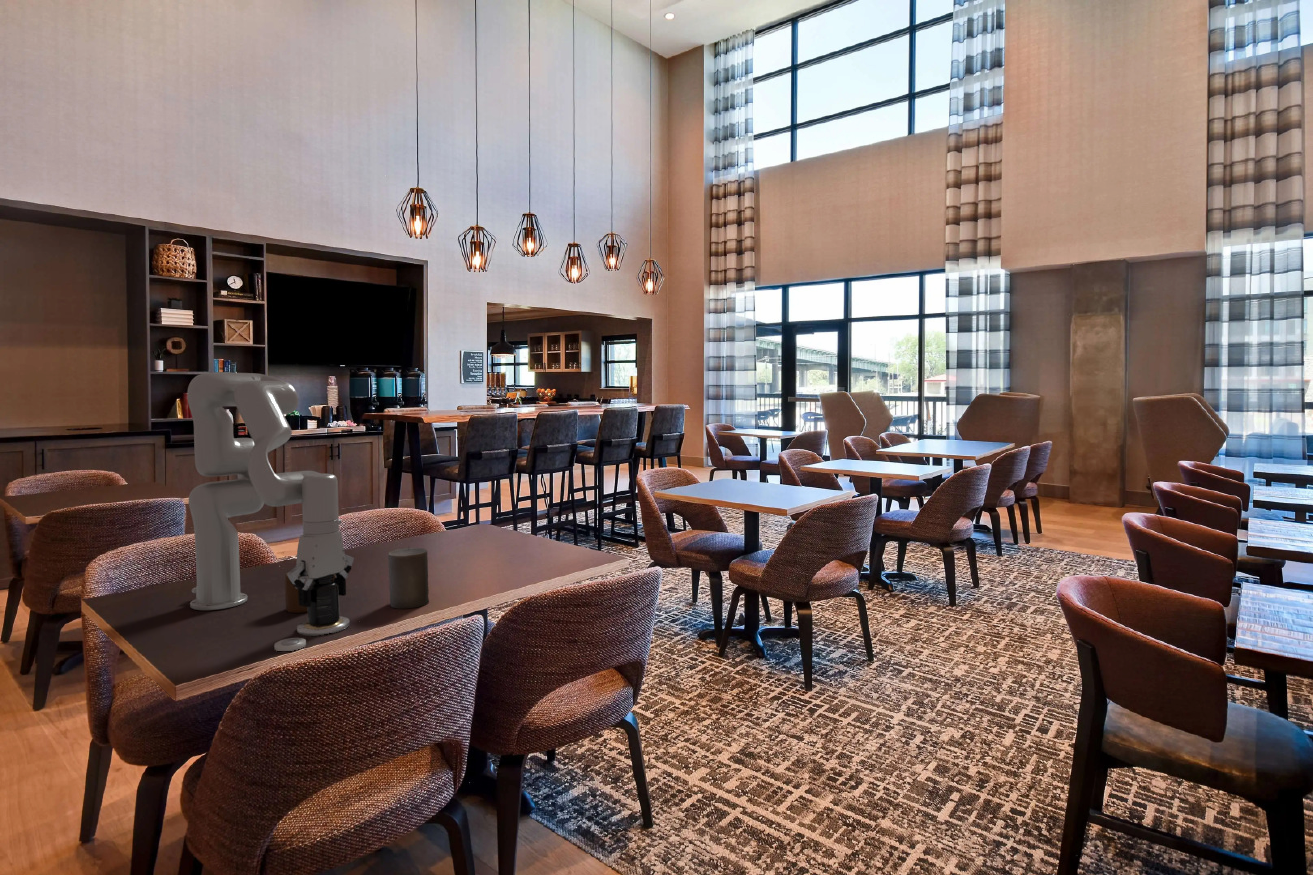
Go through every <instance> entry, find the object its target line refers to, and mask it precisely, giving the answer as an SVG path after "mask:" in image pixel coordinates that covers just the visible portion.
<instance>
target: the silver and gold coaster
mask: <svg viewBox="0 0 1313 875" xmlns="http://www.w3.org/2000/svg"><path fill="white" fill-rule="evenodd" d="M348 626H349V627H350V619H349V618H348V617H345V616H341V615H340V619H339V621H338V622H336V623H334V624H331V625H326V626H311V625H309V623H308V619H306V620H304V621H302V622H300V623H299V624H297V626H296V630H297V633H298V635H299V634H300V635H301V636H307V637H317V636H319V635H321V636H325V635H324V634H328V635H330V634H329V633H333V634H337V633H339V631H340V632H342V631H341V630H343V629H345V630H347V629H348V628H349V627H348ZM347 627H348V628H347ZM346 628H347V629H346ZM343 631H344V630H343ZM336 632H337V633H336Z"/></svg>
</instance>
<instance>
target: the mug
mask: <svg viewBox="0 0 1313 875" xmlns="http://www.w3.org/2000/svg"><path fill="white" fill-rule="evenodd" d="M288 572H289V571H288ZM288 572H286V573H285V575H284V598H285V599H284V601H285V602H284V603H285V609H286V611H287V612H288V613H292V614H301V613H307V607H304V606H300V605H299V599H298V589H296V588H295V586H294V585H292V584H291V581H290V579H289V577H288V576H287V574H288ZM333 576H334V578H336V576H335V575H334V574H333ZM298 579H300V578H299V577H298ZM305 581H306V580H305ZM333 581H334V579H333ZM304 583H305V582H304ZM311 583H312V582H311Z"/></svg>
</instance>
